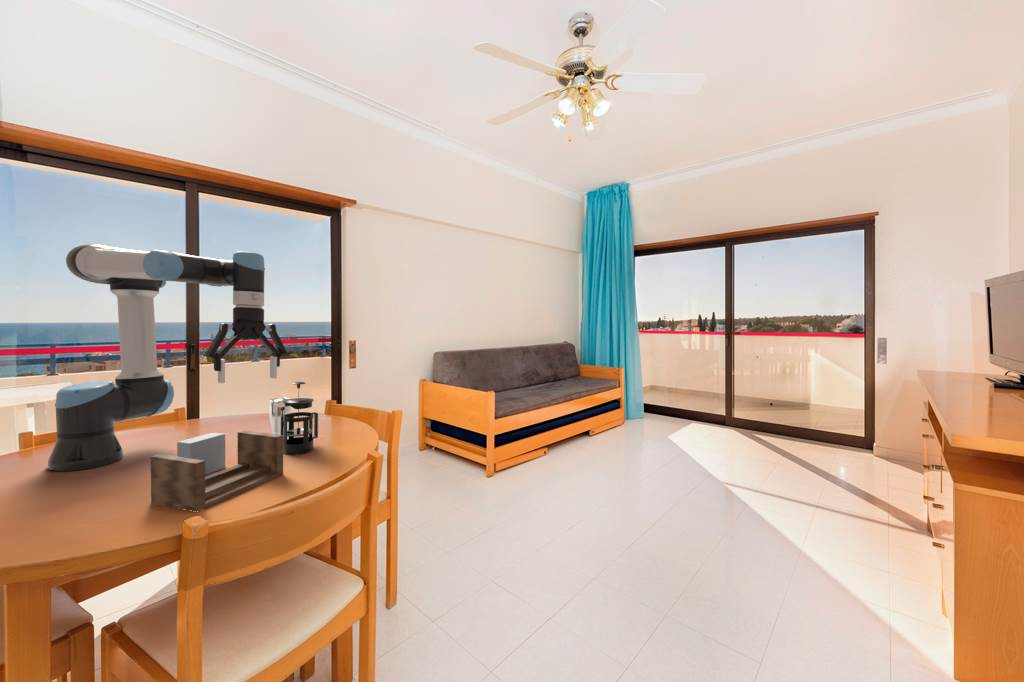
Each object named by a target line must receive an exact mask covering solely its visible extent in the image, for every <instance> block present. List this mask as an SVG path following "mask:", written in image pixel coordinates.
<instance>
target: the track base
mask: <svg viewBox="0 0 1024 682" xmlns="http://www.w3.org/2000/svg"><path fill="white" fill-rule="evenodd" d="M283 475H284V454H283V435H276V434H272V433H266V432H258V431H250V430H241V431H238V432H237V464H236V465H234V466H233V465H232V466H230V467H228V468H226V469H225V468H224V469H221V470H218V471H217V472H216V471H215V472H213V473H210V474H209V475H208V474H207V475H205V461H204V460H198V459H191V458H184V457H178V456H177V455H171V454H170V455H169V454H164V453H158V454H154V455H152V456H150V503H151V505H156V506H161V505H163V506H162V507H166V506H169V507H168V508H171V507H174V508H173V509H176V508H179V509H178V510H181V509H186V510H192V511H196V512H197V511H199V512H201V511H203V510H205V509H208V508H210V507H212V506H215V505H218V504H219V503H221V502H224V501H226V500H228V499H230V498H233V497H235V496H237V495H239V494H240V495H241V494H242V493H244V492H247V491H249V490H251V489H253V488H256V487H258V486H260V485H262V484H265V483H267V482H269V481H271V480H275V479H276V478H278V477H281V476H283ZM202 509H203V510H202ZM186 510H185V511H186ZM200 510H201V511H200ZM196 512H195V513H196ZM197 513H198V512H197Z"/></svg>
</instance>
